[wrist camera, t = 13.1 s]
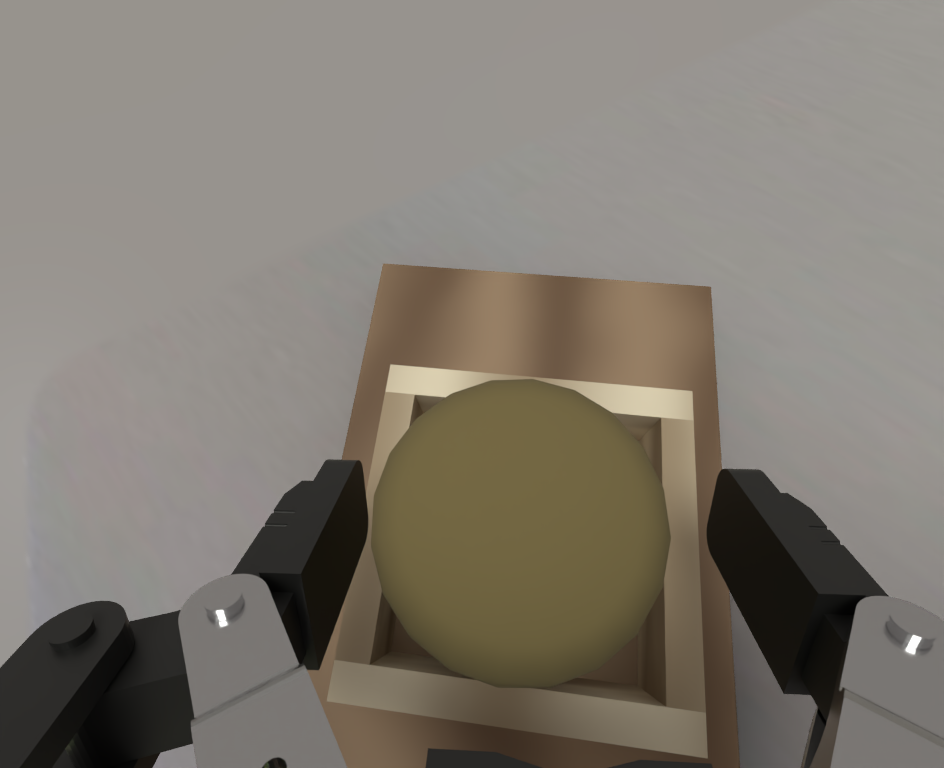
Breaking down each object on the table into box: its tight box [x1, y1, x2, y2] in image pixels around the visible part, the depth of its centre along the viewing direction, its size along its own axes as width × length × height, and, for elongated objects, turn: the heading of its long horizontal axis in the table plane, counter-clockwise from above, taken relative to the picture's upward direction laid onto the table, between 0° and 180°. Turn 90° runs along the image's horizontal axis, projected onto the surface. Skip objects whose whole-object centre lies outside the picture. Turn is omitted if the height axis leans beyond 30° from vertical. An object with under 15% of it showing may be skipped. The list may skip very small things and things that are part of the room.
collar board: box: [307, 264, 740, 768], centre depth 17 cm, size 14×22×4 cm, turn 173°
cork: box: [371, 379, 671, 688], centre depth 13 cm, size 6×6×11 cm
